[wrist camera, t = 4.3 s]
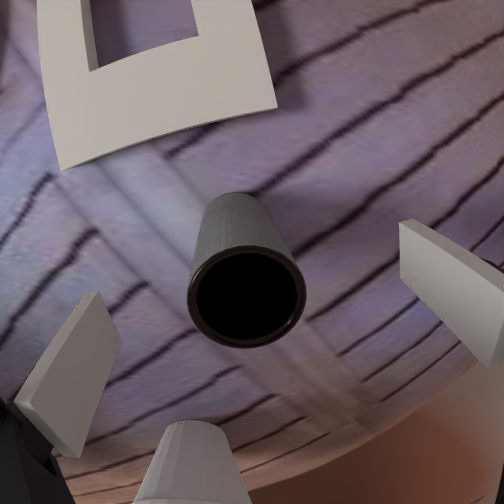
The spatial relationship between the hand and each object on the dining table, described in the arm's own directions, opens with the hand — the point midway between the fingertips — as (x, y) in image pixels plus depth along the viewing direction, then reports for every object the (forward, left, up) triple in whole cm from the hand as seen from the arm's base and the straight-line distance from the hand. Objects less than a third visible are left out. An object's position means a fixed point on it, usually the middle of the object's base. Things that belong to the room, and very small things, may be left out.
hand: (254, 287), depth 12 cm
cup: (-22, +10, -10) cm, 26 cm away
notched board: (+16, +3, -9) cm, 19 cm away
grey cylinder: (0, 0, -10) cm, 10 cm away
